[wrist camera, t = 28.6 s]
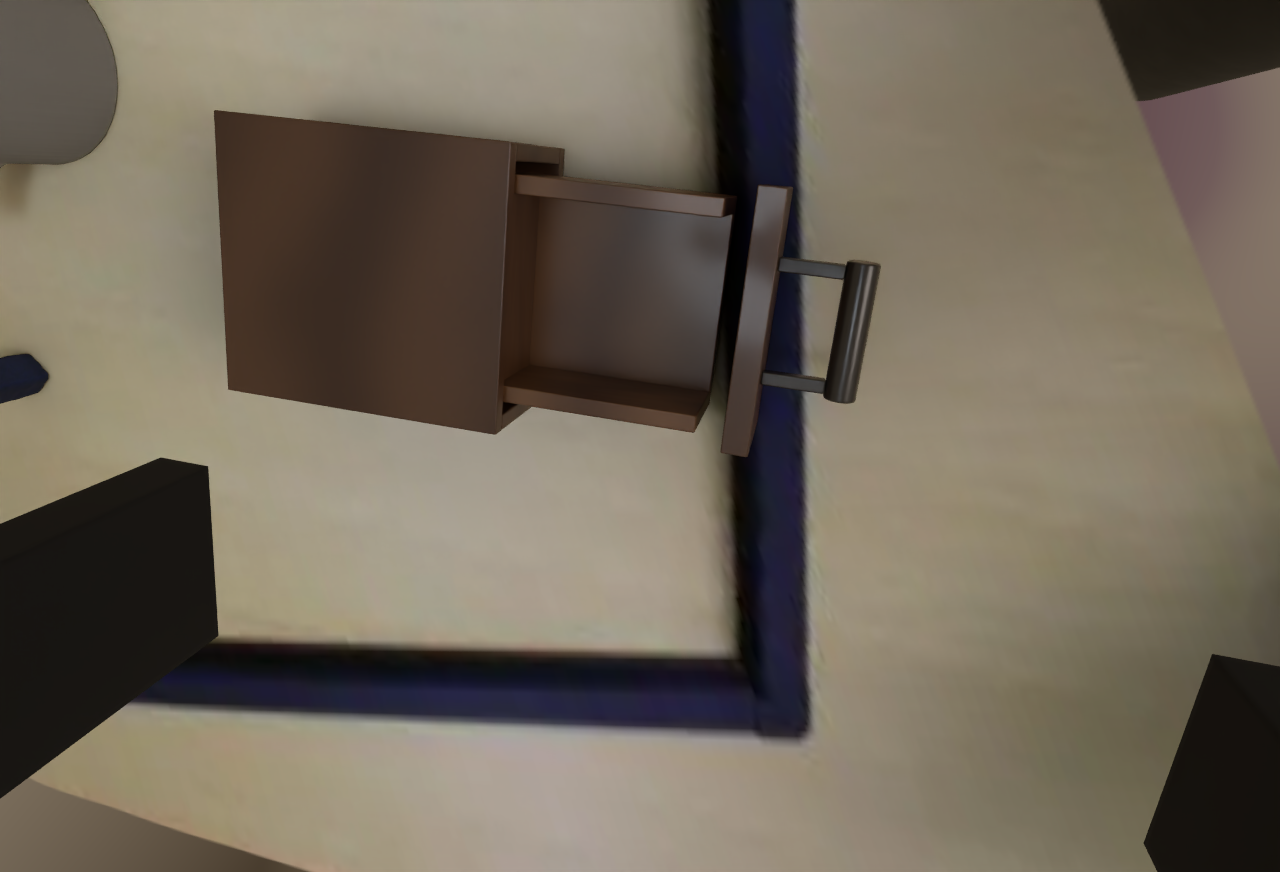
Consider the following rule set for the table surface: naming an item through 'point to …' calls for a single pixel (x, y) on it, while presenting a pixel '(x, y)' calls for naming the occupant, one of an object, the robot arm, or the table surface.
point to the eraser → (20, 377)
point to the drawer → (657, 304)
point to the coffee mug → (53, 81)
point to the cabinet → (369, 266)
